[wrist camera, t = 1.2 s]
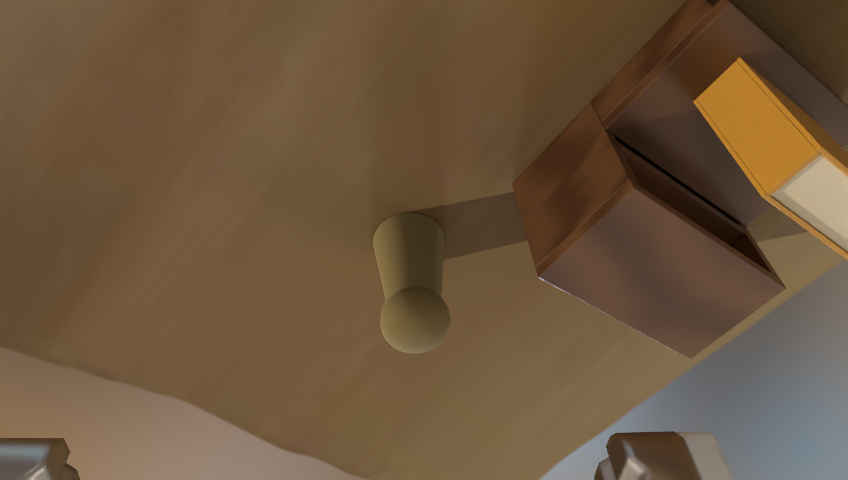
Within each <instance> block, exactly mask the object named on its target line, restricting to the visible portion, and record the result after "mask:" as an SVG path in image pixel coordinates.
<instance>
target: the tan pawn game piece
mask: <svg viewBox="0 0 848 480" xmlns="http://www.w3.org/2000/svg"><path fill="white" fill-rule="evenodd" d="M373 246H374V251H375V255H376V260H377V264H378V268H379V273H380V277H381V282H382V286H383V290H384V295H385V299H386V303H385V304H384V306H383V309H382V312H381V319H380V326H381V329H382V332H383V335H384V337H385V339H386V340H387V341H388V342H389V343H390V344H391V345H392V346H393V347H394V348H396V349H398V350H399V351H403V352H406V353H422V352H427V351H429V350H432V349H434V348H436V347H437V346H438V345H439V344H441V343H442V341H443V340H444V338H445V337H446V335H447V334H448V331H449V326H450V315H449V310H448V307H447V305H446V303H445V302H444V300H443V299H442V298H441V290H442V273H443V256H444V234H443V230H442V229H441V227H440V226H439V224H438V223H437V222H436V221H434V220H433V219H431V218H430V217H428V216H425V215H422V214H419V213H403V214H397V215H394V216H392V217H390V218H388V219H386V220H385V221H384V222H383V223H382V224H380V225H379V226H378V228H377V230H376V232H375V233H374V237H373Z"/></svg>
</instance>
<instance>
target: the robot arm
mask: <svg viewBox="0 0 848 480" xmlns="http://www.w3.org/2000/svg"><path fill="white" fill-rule="evenodd" d="M606 448H607V451H608V455H609V457H608V458H606V459H605V460H603V461H602V462H600V463H599V465H598V468H597V470H596V473H595V478H594V480H734V478H733V476H732V474H731V472H730V470H729V468H728V465H727V463H726V461H725V459H724V457H723V454H722V452H721V450H720V448H719V446H718V444H717V441H716V439H715V438H714V437H713V436H712V435H711V434H710V433H707V432H677V433H675V432H639V433H638V432H636V433H615V434H613V435H612V436H610V439H609V441H608V443H607V446H606ZM69 453H70V451H69V449H68V447H67V444H66V442H65V440H64V438H0V480H80V478H79V475H78V472H77V470H76V469H75V468H73V467H72V466H70V465H68V464H67V463H66V461H67V458H68V456H69Z"/></svg>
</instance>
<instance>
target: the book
mask: <svg viewBox="0 0 848 480" xmlns="http://www.w3.org/2000/svg"><path fill="white" fill-rule="evenodd" d="M693 102H694V104H695V105H696V107H697V108H698V109H699V111H700V112H701V113H702V115H703V116H704V118H705V119H706V120H707V122H708V123H709V124H710V126H711V127H712V129H713V130H714V131H715V133H716V134H717V136H718V137H719V138H720V140H721V141H722V142H723V144H724V145H725V147H726V148H727V149H728V151H729V152H730V154H731V155H732V156H733V158H734V159H735V160H736V162H737V163H738V165H739V166H740V167H741V169H742V170H743V171H744V173H745V174H746V176H747V177H748V178H749V180H750V181H751V183H752V184H753V185H754V187H755V188H756V189H757V191H758V192H759V194H760V195H761V196H762V197H763V198H764V199H765V200H767V201H768V202H770V203H771V204H772V205H774V206H775V207H776V208H778V209H779V210H781V211H782V212H783V213H785V214H786V215H787V216H789V217H790V218H791V219H793V220H794V221H796V222H797V223H798V224H800V225H801V226H802V227H804V228H805V229H806V230H808V231H809V232H811V233H812V234H813V235H815V236H816V237H817V238H819V239H820V240H821V241H823V242H824V243H826V244H827V245H828V246H830V247H831V248H832V249H834V250H835V251H836V252H838V253H839V254H841V255H842V256H843V257H845V258H846V259H847V260H848V154H847V153H846V152H845V151H844V150H843V149H842V148H841V147H840V146H839V145H838V144H837V143H836V142H835V141H834V139H833V138H832V137H831V136H830V135H829V134H828V133H827V132H826V131H825V130H824V129H823V128H822V127H821V126H820V125H819V124H818V123H817V122H816V121H815V120H814V119H812V118H811V117H810V116H809V115H808V114H807V113H805V112H804V111H803V110H802V109H801V108H799V107H798V106H797V105H796V104H795V103H794V102H792V101H791V100H790V99H789V98H788V97H787V96H785V95H784V94H783V93H782V92H781V91H779V90H778V89H777V88H776V87H775V86H774V85H772V84H771V83H770V82H769V81H768V80H767V79H765V78H764V77H763V76H762V75H761V74H759V73H758V72H757V71H756V70H755V69H754V68H752V67H751V66H750V65H749V64H748V63H747V62H745V61H744V60H743V59H742V58H741V57H739V58H738V59H737V61H735V62H734V63H733V64H732V65H731V66H730V67H729V68H728V69H727V70H726V71H725V72H724V73H723V74H722V75H721V76H720V77H718V78H717V79H716V80H715V81H714V82H713V83H712V84H711V85H710V86H709V87H708V88H707V89H706V90H705V91H704V92H703V93H702V94H701V95H700V96H699V97H698V98H697V99H695V100H694V101H693Z"/></svg>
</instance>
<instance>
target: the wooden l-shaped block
mask: <svg viewBox="0 0 848 480" xmlns="http://www.w3.org/2000/svg"><path fill="white" fill-rule="evenodd" d="M739 57H741V58H742V59H743V60H744V61H745V62H747V63H748V64H749V65H750V66H751V67H752V68H754V69H755V70H756V71H757V72H758V73H759V74H761V75H762V76H763V77H764V78H765V79H767V80H768V81H769V82H770V83H771V84H772V85H774V86H775V87H776V88H777V89H778V90H779V91H781V92H782V93H783V94H784V95H785V96H787V97H788V98H789V99H790V100H791V101H792V102H794V103H795V104H796V105H797V106H798V107H799V108H801V109H802V110H803V111H804V112H805V113H807V114H808V115H809V116H810V117H811V118H812V119H814V120H815V121H816V122H817V123H818V124H819V125H820V126H821V127H822V128H823V129H824V130H825V131H826V132H827V133H828V134H829V135H830V136H831V137H832V138H833V139H834V141H835V142H836V143H837V144H838V145H839V146H840V147H841V148H842V149H843V148H844V147H845V146H847V145H848V105H847V104H845V103H844V102H843V101H842V100H841V99H840V98H839V97H838V96H837V95H836V94H835V93H833V92H832V91H831V90H830V89H829V88H828V87H827V86H826V85H824V84H823V83H822V82H821V81H820V80H819V79H818V78H817V77H816V76H814V75H813V74H812V73H811V72H810V71H809V70H808V69H807V68H805V67H804V66H803V65H802V64H801V63H800V62H799V61H798V60H797V59H795V58H794V57H793V56H792V55H791V54H790V53H789V52H788V51H786V50H785V49H784V48H783V47H782V46H781V45H780V44H779V43H778V42H776V41H775V40H774V39H773V38H772V37H771V36H770V35H769V34H767V33H766V32H765V31H764V30H763V29H762V28H761V27H760V26H759V25H757V24H756V23H755V22H754V21H753V20H752V19H751V18H750V17H748V16H747V15H746V14H745V13H744V12H743V11H742V10H741V9H740V8H738V7H737V6H736V5H735V4H734V3H733V2H732V1H731V0H688V1H687V2H686V3H685V4H684V5H683V6H682V7H681V8H680V9H679V10H678V11H677V12H676V13H675V14H674V15H673V16H672V17H671V18H670V20H669V21H668V22H667V23H666V24H665V25H664V26H663V27H662V28H661V29H660V30H659V31H658V32H657V33H656V34H655V35H654V36H653V37H652V38H651V39H650V41H649V42H648V43H647V44H646V45H645V46H644V47H643V48H642V49H641V50H640V51H639V52H638V53H637V54H636V55H635V56H634V57H633V58H632V59H631V61H630V62H629V63H628V64H627V65H626V66H625V67H624V68H623V69H622V70H621V71H620V72H619V73H618V74H617V75H616V76H615V77H614V78H613V79H612V80H611V82H610V83H609V84H608V85H607V86H606V87H605V88H604V89H603V90H602V91H601V92H600V93H599V94H598V95H597V96H596V97H595V98H594V99H593V100H592V102H590V103H589V104H588V105H587V106H586V107H585V109H584V110H583V111H582V112H581V113H580V114H579V115H578V116H577V117H576V118H575V119H574V120H573V121H572V122H571V123H570V124H569V125H568V126H567V127H566V129H565V130H564V131H563V132H562V133H561V134H560V135H559V136H558V137H557V138H556V139H555V140H554V141H553V142H552V143H551V144H550V145H549V146H548V147H547V148H546V150H545V151H544V152H543V153H542V154H541V155H540V156H539V157H538V158H537V159H536V160H535V161H534V162H533V163H532V164H531V165H530V166H529V167H528V168H527V170H526V171H525V172H524V173H523V174H522V175H521V176H520V177H519V178H518V179H517V180H516V181H515V182H514V183H513V184H512V186H513V189H514V193H515V196H516V200H517V203H518V207H519V210H520V214H521V218H522V221H523V225H524V228H525V232H526V235H527V239H528V243H529V246H530V250H531V253H532V257H533V260H534V264H535V267H536V271H537V274H538V277H539V278H540V279H542V280H544V281H546V282H548V283H550V284H551V285H553V286H555V287H557V288H559V289H561V290H563V291H564V292H566V293H568V294H570V295H572V296H574V297H576V298H577V299H579V300H581V301H583V302H585V303H587V304H589V305H590V306H592V307H594V308H596V309H598V310H600V311H602V312H603V313H605V314H607V315H609V316H611V317H613V318H614V319H616V320H618V321H620V322H622V323H624V324H626V325H627V326H629V327H631V328H633V329H635V330H637V331H639V332H640V333H642V334H644V335H646V336H648V337H650V338H652V339H653V340H655V341H657V342H659V343H661V344H663V345H665V346H666V347H668V348H670V349H672V350H674V351H676V352H678V353H679V354H681V355H683V356H685V357H687V358H689V359H691V358H692V357H694V356H695V355H696V354H698V353H699V352H700V351H702V350H703V349H704V348H706V347H707V346H709V345H710V344H711V343H713V342H714V341H715V340H717V339H718V338H719V337H721V336H722V335H723V334H725V333H726V332H728V331H729V330H730V329H732V328H733V327H734V326H736V325H737V324H738V323H740V322H741V321H742V320H744V319H745V318H747V317H748V316H749V315H751V314H752V313H753V312H755V311H756V310H757V309H759V308H760V307H762V306H763V305H764V304H766V303H767V302H768V301H770V300H771V299H772V298H774V297H775V296H776V295H778V294H779V293H781V292H782V291H783V290H785V289H786V287H785V286H784V284H783V283H782V281H781V280H780V279H779V277H778V275H777V274H776V272H775V271H774V269H773V268H772V266H771V265H770V263H769V262H768V260H767V258H766V257H765V255H764V254H763V252H762V251H761V249H760V248H759V246H758V245H757V243H756V242H755V240H754V239H753V237H752V236H751V234H750V233H749V231H748V230H747V228H746V227H747V226H748V225H749V224H751V223H752V222H753V221H754V220H755V219H757V218H758V217H759V216H760V215H762V214H763V213H764V212H765V211H767V210H768V209H769V208H770V207H772V206H773V205H772V204H771V203H770V202H768V201H767V200H765V199H764V198H763V197H762V196H761V195H760V194H759V192H758V191H757V189H756V188H755V187H754V185H753V184H752V183H751V181H750V180H749V178H748V177H747V176H746V174H745V173H744V171H743V170H742V169H741V167H740V166H739V165H738V163H737V162H736V160H735V159H734V158H733V156H732V155H731V154H730V152H729V151H728V149H727V148H726V147H725V145H724V144H723V142H722V141H721V140H720V138H719V137H718V136H717V134H716V133H715V131H714V130H713V129H712V127H711V126H710V124H709V123H708V122H707V120H706V119H705V118H704V116H703V115H702V113H701V112H700V111H699V109H698V108H697V107H696V105H695V104H694V102H693V101H694V100H695V99H697V98H698V97H699V96H700V95H701V94H702V93H703V92H704V91H705V90H706V89H707V88H708V87H709V86H710V85H711V84H712V83H713V82H714V81H715V80H716V79H717V78H718V77H720V76H721V75H722V74H723V73H724V72H725V71H726V70H727V69H728V68H729V67H730V66H731V65H732V64H733V63H734V62H735V61H737V59H738V58H739ZM615 136H616V137H617V138H619V139H620V140H621V141H623V142H624V143H626V144H627V145H629V146H630V147H632V148H633V149H634V150H636V151H637V152H639V153H640V154H642V155H643V156H645V157H646V158H647V159H649V160H650V161H652V162H653V163H655V164H656V165H657V166H659V167H660V168H662V169H663V170H665V171H666V172H668V173H669V174H670V175H672V176H673V177H675V178H676V179H678V180H679V181H681V182H682V183H683V184H685V185H686V186H688V187H689V188H691V189H692V190H694V191H695V192H696V193H698V194H699V195H701V196H702V197H704V198H705V199H707V200H708V201H709V202H707V203H706V202H704V201H703V200H702V199H700V198H699V197H697V196H696V195H694V194H693V193H691V192H690V191H688V190H687V189H686V188H684V187H683V186H681V185H680V184H678V183H677V182H675V181H674V180H673V179H671V178H670V177H668V176H667V175H665V174H664V173H662V172H661V171H660V170H658V169H657V168H655V167H654V166H652V165H651V164H649V163H648V162H646V161H645V160H644V159H642V158H641V157H639V156H638V155H636V154H635V153H633V152H632V151H631V150H629V149H628V148H626V147H625V146H623V145H622V144H620V143H619V142H617V140H616V138H615ZM745 226H746V227H745Z"/></svg>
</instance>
